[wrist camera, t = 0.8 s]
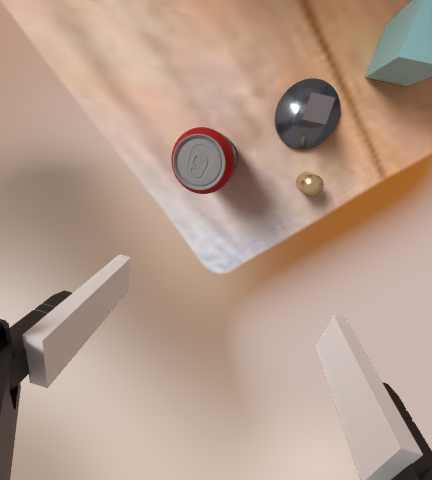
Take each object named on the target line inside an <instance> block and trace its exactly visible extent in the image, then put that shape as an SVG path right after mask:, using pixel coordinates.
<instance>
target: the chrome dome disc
mask: <svg viewBox="0 0 432 480" xmlns="http://www.w3.org/2000/svg"><path fill="white" fill-rule="evenodd" d="M339 115H340V101H339V97H338V95H337V93H336V91H335V89H334V88H333V87H332V86H331V85H330V84H329V83H327V82H325V81H323V80H320V79H306V80H303V81H300V82H298V83H296V84H295V85H293V86H292V87H291V88H289V89H288V90H287V91H286V93H285V94H284V95H283V97H282V98H281V100H280V102H279V104H278V106H277V109H276V113H275V127H276V131H277V133H278V135H279V137H280V138H281V140H282V141H283V142H284V143H285V144H287V145H288V146H291V147H293V148H298V149H306V148H311V147H314V146H316V145H318V144H320V143H322V142H323V141H324V140H325V139H327V138H328V137H329V135H330V134H331V133H332V132H333V130H334V128H335V127H336V125H337V122H338V119H339Z"/></svg>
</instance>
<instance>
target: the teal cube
mask: <svg viewBox="0 0 432 480" xmlns="http://www.w3.org/2000/svg"><path fill="white" fill-rule="evenodd" d="M365 77H366V78H370V79H375V80H380V81H384V82H389V83H393V84H398V85H402V86H407V87H408V86H410V85H413V84H415V83H418V82H420V81H423V80H425V79H428V78H431V77H432V0H412V1H411V2H410V3H409V4H407V5H406V6H405V7H404V8H403V9H402V10H401V11H400V12H399V13H398V14H396V15H395V16H394V17H393V18H392V19H391V20H390V21H389V22H388V23H387V24H386V27H385V29H384V32H383V34H382V37H381V39H380V41H379V44H378V46H377V49H376V51H375V54H374V56H373V59H372V61H371V64H370V66H369V69H368V71H367V74H366V76H365Z"/></svg>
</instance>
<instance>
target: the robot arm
mask: <svg viewBox="0 0 432 480" xmlns="http://www.w3.org/2000/svg"><path fill="white" fill-rule="evenodd" d="M130 263H131V257H127V256H124V255H120V254H119V255H118V256H117V257H116V258H114V259H113V260H112V261H111V262H110V263H108V264H107V265H106V266H105V267H104V268H102V269H101V270H100V271H99V272H98V273H96V274H95V275H94V276H93V277H92V278H90V279H89V280H88V281H87V282H85V283H84V284H83V285H82V286H81V287H80V288H78V289H77V290H76V291H75V292H73V293H71V292H68V291H62V292H60V293H57V294H55V295H53V296H51V297H50V298H49V299H47V300H46V301H45V302H43V304H41V305H39V306H38V307H37V308H36V309H35V310H33V311H31V312H30V313H29V314H27V315H26V316H25V317H23V318H22V319H21V320H20V321H18V322H17V323H16V324H14V325H13V326H12V327H10V328H9V323H7V322H6V321H5V320H1V319H0V480H10V475H11V466H12V457H13V448H14V440H15V432H16V422H17V414H18V406H19V397H20V388H21V385H20V382H21V381H22V380H23V379H24V378H25V377H26V376H27V375H28V374H29V379H30V383H33V384H36V385H40V386H43V387H46V388H48V387H49V386H50V385H51V383H52V382H53V381H54V380H55V379H56V377H57V376H58V375H59V374H60V373H61V371H62V370H63V369H64V368H65V367H66V365H67V364H68V363H69V362H70V361H71V359H72V358H73V357H74V356H75V355H76V353H77V352H78V351H79V350H80V349H81V347H82V346H83V345H84V344H85V342H86V341H87V340H88V339H89V338H90V337H91V335H92V334H93V333H94V332H95V330H96V329H97V328H98V327H99V326H100V325H101V323H102V322H103V321H104V320H105V318H106V317H107V316H108V315H109V314H110V313H111V311H112V310H113V309H114V308H115V307H116V305H117V304H118V303H119V302H120V301H121V299H122V298H123V297H124V296H125V295H126V293H127V292H128V283H129V273H130ZM315 347H316V350H317V353H318V356H319V359H320V362H321V365H322V368H323V371H324V374H325V377H326V380H327V383H328V386H329V389H330V392H331V395H332V398H333V401H334V404H335V407H336V410H337V413H338V416H339V419H340V422H341V425H342V427H343V431H344V433H345V437H346V440H347V443H348V446H349V449H350V452H351V454H352V458H353V461H354V464H355V466H356V469H357V472H358V475H359V478H360V480H432V451H431V449H430V448H429V446H428V444H427V443H426V441H425V439H424V438H423V436H422V434H421V433H420V431H419V429H418V428H417V426H416V424H415V423H414V422H413V421H412V418H411V416H410V414H409V413H408V411H406V408H405V406H404V404H403V403H402V401H401V400H400V398H399V396H398V395H397V394H396V393H395V392H394V391H393V389H392V388H391V387H390V386H389V385H388V384H386V383H383V382H382V381H381V380H380V378H379V376H378V374H377V373H376V371H375V369H374V367H373V366H372V364H371V362H370V360H369V359H368V357H367V355H366V353H365V352H364V350H363V348H362V346H361V344H360V343H359V341H358V339H357V337H356V336H355V334H354V332H353V330H352V329H351V327H350V325H349V323H348V322H347V320H346V318H342V317H338V316H335V315H333V317H332V319H331V320H330V322H329V323H328V325H327V327H326V328H325V331H324V332H323V333H322V335H321V337H320V339H319V340H318V342H317V344H316V345H315Z"/></svg>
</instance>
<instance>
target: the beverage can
mask: <svg viewBox="0 0 432 480" xmlns="http://www.w3.org/2000/svg"><path fill="white" fill-rule="evenodd" d="M236 164H237V152H236V149H235V147H234V145H233V143H232V142H231V141H230V140H229V139H228V138H227V137H225V136H224V135H222V134H220V133H219V132H217V131H215V130H212V129H209V128H204V127H199V128H194V129H191V130H189V131H187V132H185V133H184V134H183V135H182V136H181V137H180V138H179V139H178V140H177V142H176V143H175V145H174V148H173V151H172V168H173V171H174V174H175V176H176V178H177V179H178V181H179V182H180V183H181V184H182V185H183V186H184V187H185V188H186V189H188V190H190V191H192V192H195V193H199V194H208V193H212V192H215V191H217V190H218V189H220V188H221V187H222V186H224V185H225V183H226V182H227V181H228V180H229V178H230V177H231V175H232V174H233V172H234V170H235V168H236Z"/></svg>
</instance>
